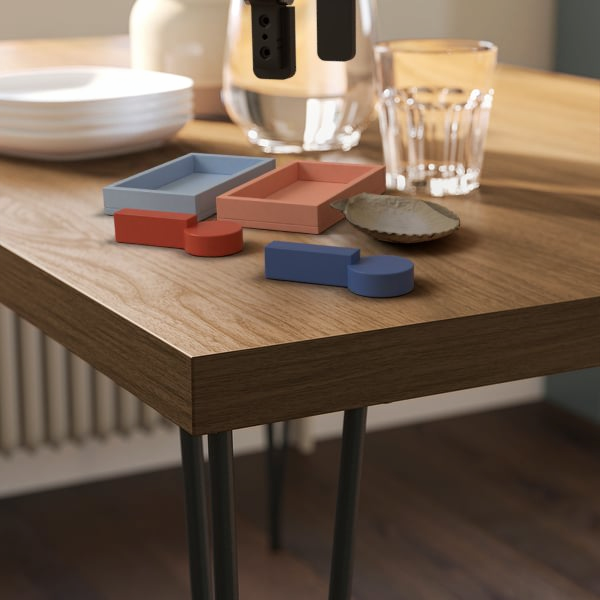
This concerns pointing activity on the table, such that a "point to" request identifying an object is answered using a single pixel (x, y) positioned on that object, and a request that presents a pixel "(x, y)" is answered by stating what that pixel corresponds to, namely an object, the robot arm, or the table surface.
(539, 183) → the table surface
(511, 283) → the table surface
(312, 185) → the tray red
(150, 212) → the spoon red
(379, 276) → the spoon blue
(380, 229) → the seashell
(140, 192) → the tray blue
